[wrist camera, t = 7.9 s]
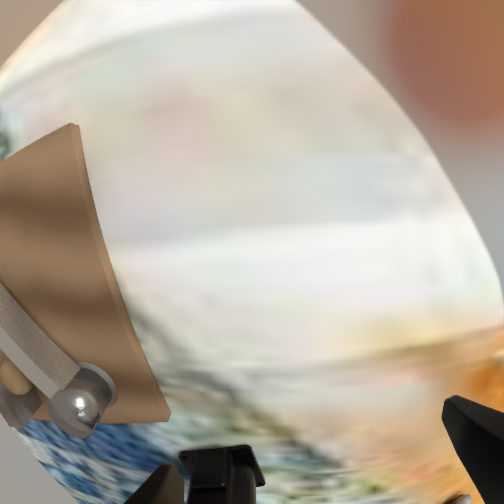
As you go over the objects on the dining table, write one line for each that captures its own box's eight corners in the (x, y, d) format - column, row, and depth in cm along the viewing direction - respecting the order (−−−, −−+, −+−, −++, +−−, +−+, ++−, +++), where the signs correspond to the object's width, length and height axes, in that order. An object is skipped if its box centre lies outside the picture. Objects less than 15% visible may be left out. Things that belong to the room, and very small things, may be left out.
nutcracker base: (171, 411, 21) (156, 458, 16) (34, 412, 22) (11, 441, 17) (78, 125, 17) (33, 112, 12) (-45, 201, 17) (-84, 207, 12)
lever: (119, 391, 19) (97, 431, 15) (99, 412, 20) (78, 449, 15) (-27, 233, 17) (-65, 244, 12) (-37, 264, 17) (-72, 278, 13)
